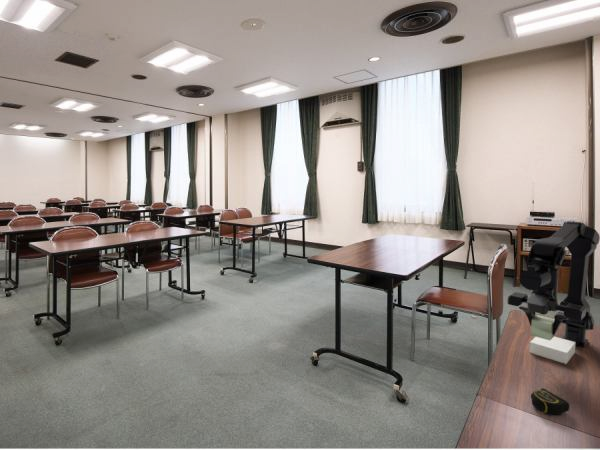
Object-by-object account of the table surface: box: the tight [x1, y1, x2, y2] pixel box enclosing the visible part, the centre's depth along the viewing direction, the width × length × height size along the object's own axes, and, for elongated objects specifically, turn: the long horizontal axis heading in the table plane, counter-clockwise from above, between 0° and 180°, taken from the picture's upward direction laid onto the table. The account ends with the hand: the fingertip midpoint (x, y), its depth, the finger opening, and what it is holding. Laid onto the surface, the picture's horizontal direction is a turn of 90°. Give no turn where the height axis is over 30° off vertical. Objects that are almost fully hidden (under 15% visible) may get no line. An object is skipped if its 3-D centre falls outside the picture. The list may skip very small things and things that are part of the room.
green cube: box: [530, 314, 556, 340], centre depth 106 cm, size 5×5×5 cm
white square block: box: [528, 336, 576, 365], centre depth 114 cm, size 10×10×4 cm
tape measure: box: [530, 387, 570, 417], centre depth 87 cm, size 7×7×4 cm
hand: (543, 331), depth 106 cm, fingers closed on green cube, 5 cm apart
